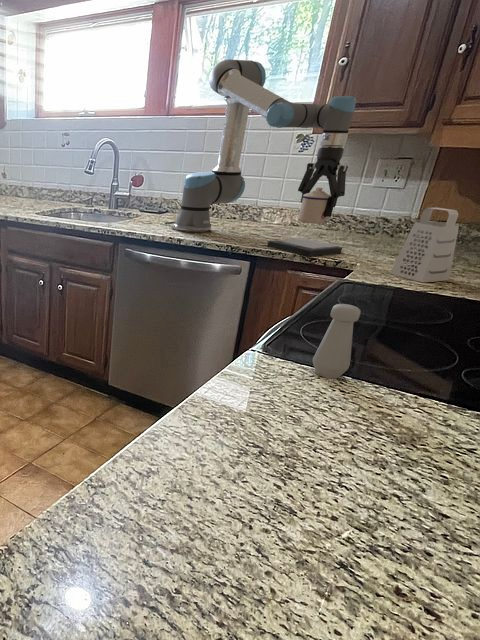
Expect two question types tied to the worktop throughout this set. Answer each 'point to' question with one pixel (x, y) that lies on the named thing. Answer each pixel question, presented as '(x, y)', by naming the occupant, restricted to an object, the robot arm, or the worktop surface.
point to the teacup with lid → (313, 207)
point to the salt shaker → (336, 342)
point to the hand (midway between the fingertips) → (314, 214)
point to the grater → (428, 249)
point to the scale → (305, 247)
